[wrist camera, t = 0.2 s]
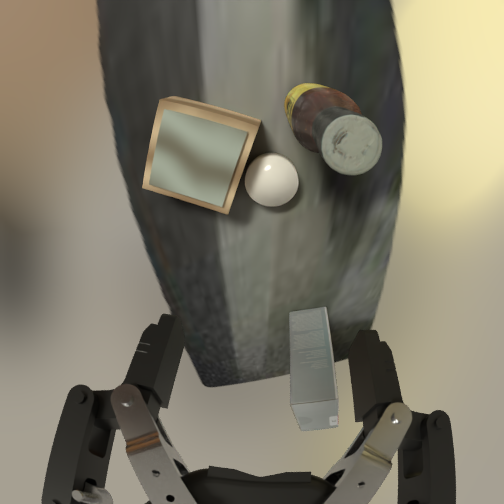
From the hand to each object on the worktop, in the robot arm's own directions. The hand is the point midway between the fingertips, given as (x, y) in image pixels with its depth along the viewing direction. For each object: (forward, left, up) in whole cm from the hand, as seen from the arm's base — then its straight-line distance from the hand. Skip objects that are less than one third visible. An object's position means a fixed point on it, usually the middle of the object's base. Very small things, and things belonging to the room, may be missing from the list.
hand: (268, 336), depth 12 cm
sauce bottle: (-8, +2, -29) cm, 30 cm away
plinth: (+2, -9, -28) cm, 30 cm away
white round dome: (+3, +1, -29) cm, 29 cm away
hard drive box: (+31, +21, -29) cm, 47 cm away
